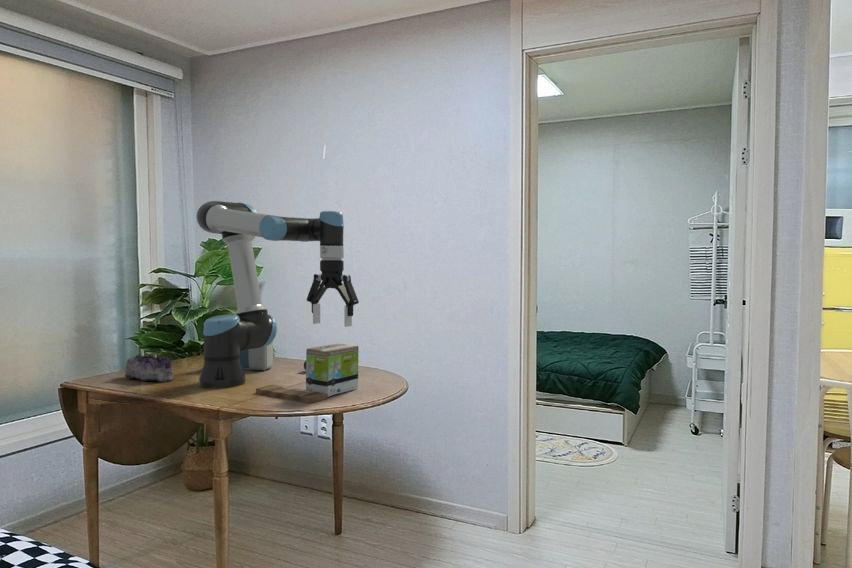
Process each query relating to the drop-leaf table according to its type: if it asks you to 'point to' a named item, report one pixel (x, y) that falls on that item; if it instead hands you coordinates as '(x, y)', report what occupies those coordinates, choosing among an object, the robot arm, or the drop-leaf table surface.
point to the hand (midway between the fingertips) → (332, 325)
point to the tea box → (332, 369)
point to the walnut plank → (291, 393)
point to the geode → (149, 368)
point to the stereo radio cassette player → (257, 358)
